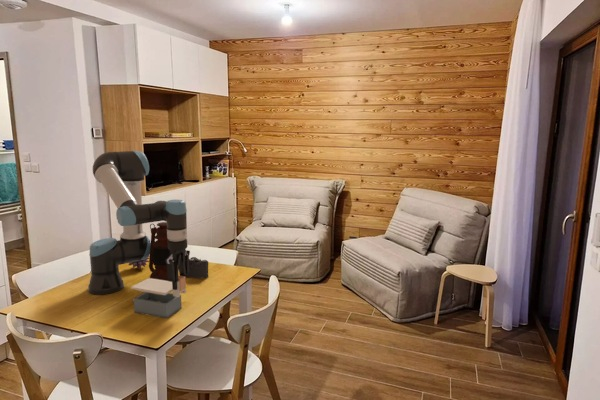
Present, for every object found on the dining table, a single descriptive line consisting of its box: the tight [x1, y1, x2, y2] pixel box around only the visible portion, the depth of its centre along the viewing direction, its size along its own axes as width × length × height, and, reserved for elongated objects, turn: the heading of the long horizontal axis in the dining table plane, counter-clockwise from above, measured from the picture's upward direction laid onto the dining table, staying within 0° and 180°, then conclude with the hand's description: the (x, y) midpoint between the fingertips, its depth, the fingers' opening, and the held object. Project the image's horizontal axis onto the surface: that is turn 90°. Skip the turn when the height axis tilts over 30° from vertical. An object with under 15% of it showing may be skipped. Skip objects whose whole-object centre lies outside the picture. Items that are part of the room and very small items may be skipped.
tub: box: [133, 292, 183, 319], centre depth 169 cm, size 16×10×6 cm, turn 71°
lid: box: [130, 274, 187, 295], centre depth 167 cm, size 21×11×7 cm, turn 71°
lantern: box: [148, 221, 170, 281], centre depth 196 cm, size 17×14×30 cm
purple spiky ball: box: [127, 255, 150, 270], centre depth 219 cm, size 12×12×12 cm
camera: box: [187, 256, 209, 279], centre depth 211 cm, size 14×11×10 cm
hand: (179, 294), depth 165 cm, fingers closed on lid, 3 cm apart
